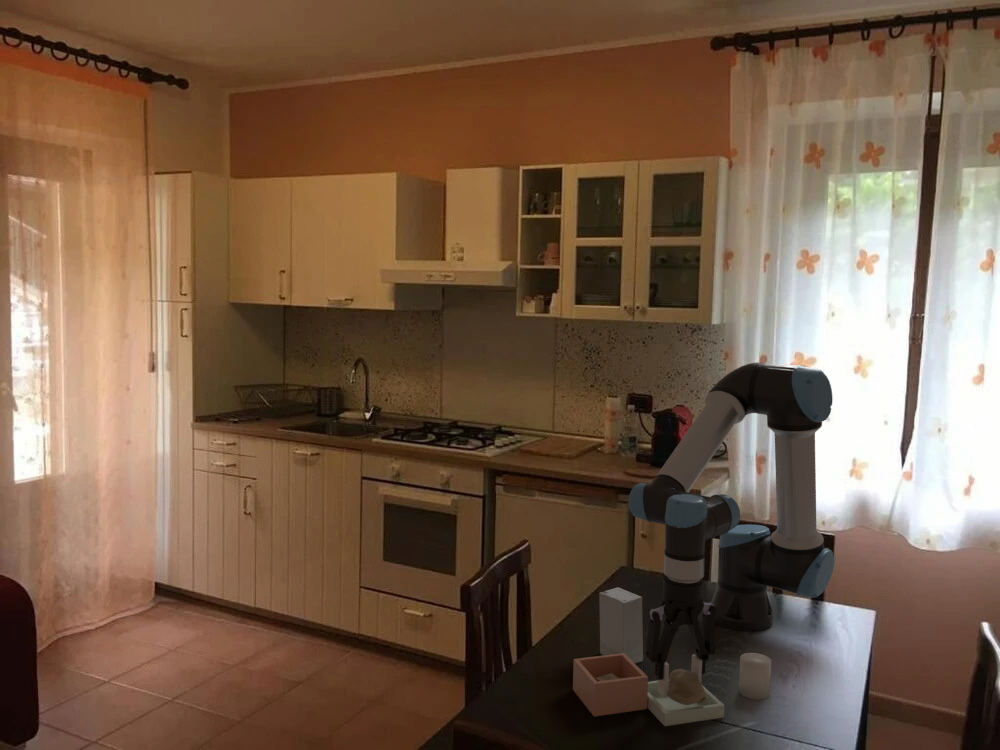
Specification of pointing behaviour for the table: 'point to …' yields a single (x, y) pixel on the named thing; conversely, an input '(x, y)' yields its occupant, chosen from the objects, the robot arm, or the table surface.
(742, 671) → the beige rounded capsule
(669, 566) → the robot arm
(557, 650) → the table surface
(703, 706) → the green dish
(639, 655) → the skincare box
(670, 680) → the stone
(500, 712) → the table surface
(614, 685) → the pink open box
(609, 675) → the walnut block
